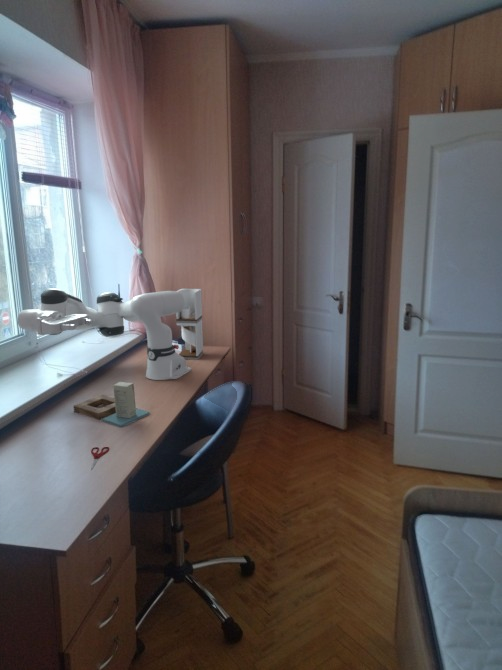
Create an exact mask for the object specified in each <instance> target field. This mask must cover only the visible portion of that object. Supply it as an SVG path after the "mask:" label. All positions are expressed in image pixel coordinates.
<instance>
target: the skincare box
mask: <svg viewBox="0 0 502 670" xmlns="http://www.w3.org/2000/svg"><path fill="white" fill-rule="evenodd" d="M134 385H135V383H134V382H125V381H118V382H116V383H115V384H113V385H112V386H113V387H112V388H113V398H114V399H115V409H116V416H117V417H124V418H131V417H133V416H134V415H136V408H137V407H136V394H135V393H136V392H135V386H134Z"/></svg>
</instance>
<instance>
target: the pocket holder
mask: <svg viewBox="0 0 502 670" xmlns="http://www.w3.org/2000/svg"><path fill="white" fill-rule="evenodd" d="M100 406H103V407H101V408H98V407H100ZM73 412H74V413H75V414H76V413H77V414H80V415H83V416H86V417H89V418H91V419H95V420H98V421H100V420H102V419H103V418H105V417H107V416H110V415H112V414H114V413H116V409H115V399H114V396H110V395H105V394H101V395H97V396H96V397H92V398H90V399H88V400H87V399H86V400H85V401H83V402H79V403H77V404H73Z"/></svg>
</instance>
